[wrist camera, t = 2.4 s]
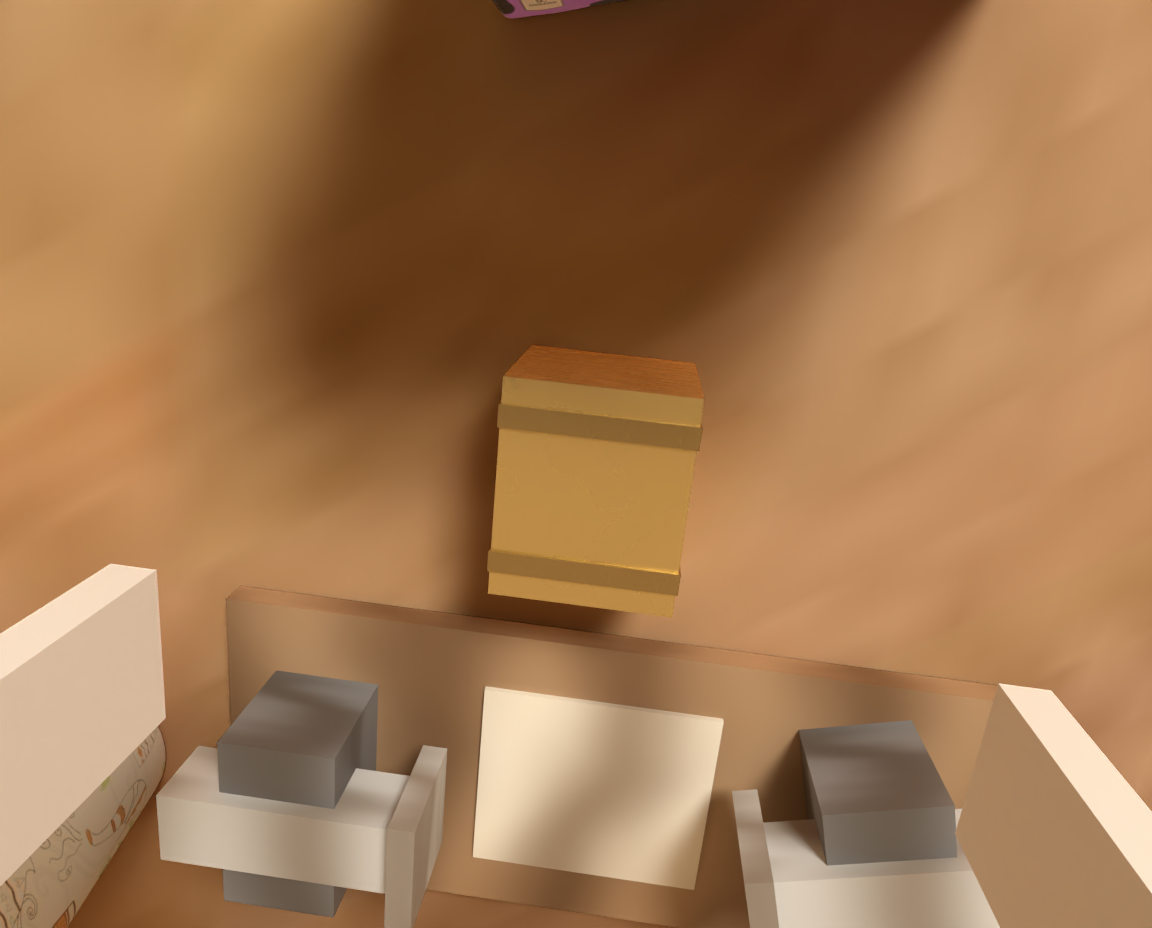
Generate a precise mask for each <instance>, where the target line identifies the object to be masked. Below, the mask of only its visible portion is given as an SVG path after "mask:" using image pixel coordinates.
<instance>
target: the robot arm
mask: <svg viewBox="0 0 1152 928" xmlns="http://www.w3.org/2000/svg"><path fill="white" fill-rule="evenodd" d="M165 718H166V714H165V698H164V681H163V665H162V649H161V633H160V617H159V601H158V585H157V570H154V569H146V568H139V567H132V566H124V565H117V564H109V565H108V566H106V567H105V568H103V569H102V570H100V571H98V572H97V573H95V574H94V575H92V576H91V577H89V578H87V579H86V580H84V581H83V582H81V583H80V584H78V585H76V586H75V587H73V588H72V589H70V590H68V591H67V592H65V593H64V594H62V595H61V596H59V597H57V598H56V599H54V600H53V601H51V602H50V603H48V604H46V605H45V606H43V607H42V608H40V609H38V610H37V611H35V612H34V613H32V614H31V615H29V616H27V617H26V618H24V619H23V620H21V621H20V622H18V623H16V624H15V625H13V626H12V627H10V628H9V629H7V630H5V631H4V632H2V633H1V634H0V886H1V885H2V884H3V883H4V882H5V881H6V880H7V879H8V878H9V877H10V876H11V875H12V874H13V873H14V872H15V871H16V870H17V869H18V868H19V867H20V866H21V865H22V864H23V863H24V862H25V861H26V860H27V859H28V858H29V857H30V856H31V855H32V854H33V853H34V852H35V850H36V849H37V848H38V847H39V846H40V845H41V844H42V843H43V842H44V841H45V840H46V839H47V838H48V837H49V836H50V835H51V834H52V833H53V832H54V831H55V830H56V829H57V828H58V827H59V826H60V825H61V824H62V823H63V822H64V821H65V820H66V819H67V818H68V817H69V816H70V815H71V814H72V813H73V812H74V811H75V810H76V809H77V808H78V807H79V806H80V805H81V804H82V803H83V802H84V801H85V800H86V799H87V798H88V797H89V796H90V795H91V794H92V792H93V791H94V790H95V789H96V788H97V787H98V786H99V785H100V784H101V783H102V782H103V781H104V780H105V779H106V778H107V777H108V776H109V775H110V774H111V773H112V772H113V771H114V770H115V769H116V768H117V767H118V766H119V765H120V764H121V763H122V762H123V761H124V760H125V759H126V758H127V757H128V756H129V755H130V754H131V753H132V752H133V751H134V750H135V749H136V748H137V747H138V746H139V745H140V744H141V743H142V742H143V741H144V740H145V739H146V738H147V737H148V735H149V734H150V733H151V732H152V731H153V730H154V729H155V728H156V727H157V726H158V725H159V724H160V723H161V722H162V721H163V720H164V719H165ZM955 835H956V837H957V839H958V841H959V843H960V845H961V847H962V849H963V851H964V853H965V856H966V858H967V860H968V862H969V864H970V866H971V868H972V870H973V872H974V874H975V876H976V878H977V880H978V883H979V885H980V887H981V889H982V891H983V893H984V895H985V897H986V899H987V901H988V903H989V905H990V907H991V910H992V912H993V914H994V916H995V918H996V920H997V922H998V924H999V926H1000V928H1152V811H1151V810H1150V809H1149V808H1148V807H1147V805H1146V804H1145V803H1144V802H1143V801H1142V799H1141V798H1140V797H1139V796H1138V795H1137V793H1136V792H1135V791H1134V790H1133V789H1132V787H1131V786H1130V785H1129V784H1128V783H1127V781H1126V780H1125V779H1124V778H1123V776H1122V775H1121V774H1120V773H1119V772H1118V770H1117V769H1116V768H1115V767H1114V766H1113V764H1112V763H1111V762H1110V761H1109V760H1108V758H1107V757H1106V756H1105V755H1104V754H1103V752H1102V751H1101V750H1100V749H1099V748H1098V746H1097V745H1096V744H1095V743H1094V742H1093V740H1092V739H1091V738H1090V737H1089V735H1088V734H1087V733H1086V732H1085V731H1084V729H1083V728H1082V727H1081V726H1080V725H1079V723H1078V722H1077V721H1076V720H1075V719H1074V717H1073V716H1072V715H1071V714H1070V713H1069V711H1068V710H1067V709H1066V708H1065V707H1064V705H1063V704H1062V703H1061V702H1060V701H1059V699H1058V698H1057V697H1056V696H1055V694H1054V693H1053V692H1052V691H1051V690H1044V689H1036V688H1029V687H1021V686H1014V685H1006V684H998V687H997V690H996V694H995V697H994V701H993V704H992V708H991V711H990V715H989V718H988V722H987V725H986V728H985V732H984V735H983V739H982V742H981V746H980V749H979V753H978V756H977V760H976V763H975V766H974V770H973V773H972V777H971V780H970V784H969V787H968V791H967V794H966V798H965V801H964V805H963V808H962V811H961V815H960V818H959V822H958V825H957V829H956V832H955Z"/></svg>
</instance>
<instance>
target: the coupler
mask: <svg viewBox="0 0 1152 928" xmlns="http://www.w3.org/2000/svg"><path fill="white" fill-rule="evenodd" d="M703 405H704V396H703V392H702V388H701V384H700V381H699V377H698V373H697V369H696V365H695V363H689V362H680V361H671V360H662V359H653V358H644V357H635V356H626V355H618V354H609V353H600V352H591V351H582V350H573V349H564V348H555V347H546V346H537V345H531V346H530V347H529V349H528V350H527V351H526V352H525V353H524V354H523V355H522V356H521V357H520V358H519V359H518V361H517V362H516V363H515V364H514V365H513V366H512V367H511V368H510V369H509V370H508V371H507V372H506V374H505V375H504V376H503V384H502V398H501V402H500V403H499V404H498V418H497V427H498V428H499V441H498V456H497V470H496V484H495V499H494V513H493V527H492V541H491V546H490V548H489V551H488V563H487V571H488V572H489V584H488V594H495V595H503V596H510V597H518V598H526V599H533V600H541V601H549V602H557V603H564V604H572V605H580V606H587V607H595V608H603V609H610V610H618V611H626V612H633V613H641V614H649V615H656V616H664V617H672V615H673V609H674V602H675V596H678V590H679V583H680V577H681V573H680V561H681V554H682V548H683V541H684V534H685V527H686V520H687V514H688V507H689V500H690V493H691V487H692V480H693V473H694V466H695V459H696V453H697V451H699V449H700V442H701V435H702V423H701V419H702V412H703Z"/></svg>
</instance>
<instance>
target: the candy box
mask: <svg viewBox="0 0 1152 928" xmlns="http://www.w3.org/2000/svg"><path fill="white" fill-rule="evenodd" d="M492 1H493V2H494V4H495V5H496V6H497V7H498V9H499V10H500V12H501V13H502V14H503V15H504V16H505V17H507V18H511V19H513V18H521V17H528V16H536V15H543V14H550V13H558V12H564V11H569V10H574V9H580V8H585V7H589V6H594V5H599V4H605V3H610V2H617V1H624V0H492Z"/></svg>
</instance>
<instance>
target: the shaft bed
mask: <svg viewBox="0 0 1152 928" xmlns="http://www.w3.org/2000/svg"><path fill="white" fill-rule="evenodd" d="M226 609H227V635H228V661H229V687H230V713H231V726H230V727H229V728H228V730H227V731H226V732H225V733H224V734H223V736H222V737H221V738H220V739H219V741H218V742H217V748H212V747H205V746H198V747H197V748H196V749H195V750H194V752H193V753H192V754H191V755H190V756H189V757H188V759H187V760H186V761H185V762H184V763H183V764H182V766H181V767H180V768H179V769H178V770H177V771H176V773H175V774H174V775H173V776H172V777H171V779H170V780H169V781H168V782H167V783H166V784H165V786H164V787H163V788H162V789H161V790H160V791H159V793H158V794H157V795H156V801H157V815H158V828H159V842H160V855H161V860H167V861H174V862H180V863H187V864H194V865H200V866H207V867H213V868H220V869H223V886H224V901H231V902H237V903H244V904H250V905H256V906H263V907H269V908H276V909H282V910H289V911H295V912H302V913H308V914H314V915H321V916H327V917H334V916H335V913H336V911H337V909H338V907H339V905H340V902H341V900H342V898H343V896H344V894H345V891H346V889H347V888H350V889H357V890H363V891H370V892H377V893H383V894H385V918H384V928H413V927H414V924H415V921H416V918H417V915H418V912H419V909H420V906H421V903H422V900H423V897H424V894H425V891H426V889H427V890H433V891H440V892H447V893H453V894H460V895H466V896H473V897H479V898H486V899H493V900H499V901H506V902H512V903H519V904H525V905H532V906H539V907H545V908H552V909H558V910H565V911H571V912H578V913H585V914H591V915H598V916H604V917H611V918H617V919H624V920H631V921H637V922H644V923H650V924H657V925H663V926H670V927H677V928H1000V926H999V924H998V922H997V920H996V918H995V916H994V914H993V912H992V910H991V907H990V905H989V903H988V901H987V899H986V897H985V895H984V893H983V891H982V889H981V887H980V885H979V883H978V880H977V878H976V876H975V874H974V872H973V870H972V868H971V866H970V864H969V862H968V860H967V858H966V856H965V853H964V851H963V849H962V847H961V845H960V843H959V841H958V839H957V837H956V835H955V832H956V829H957V825H958V822H959V818H960V815H961V811H962V808H963V805H964V801H965V798H966V794H967V791H968V787H969V784H970V780H971V777H972V773H973V770H974V766H975V763H976V760H977V756H978V753H979V749H980V746H981V742H982V739H983V735H984V732H985V728H986V725H987V722H988V718H989V715H990V711H991V708H992V704H993V701H994V697H995V694H996V690H997V687H998V686H996V685H989V684H981V683H974V682H966V681H959V680H951V679H943V678H936V677H928V676H921V675H913V674H905V673H898V672H890V671H883V670H875V669H867V668H860V667H852V666H845V665H837V664H830V663H822V662H814V661H807V660H799V659H792V658H784V657H776V656H769V655H761V654H754V653H746V652H738V651H731V650H723V649H716V648H708V647H701V646H693V645H685V644H678V643H670V642H663V641H655V640H647V639H640V638H632V637H625V636H617V635H609V634H602V633H594V632H587V631H579V630H572V629H564V628H556V627H549V626H541V625H534V624H526V623H518V622H511V621H503V620H496V619H488V618H480V617H473V616H465V615H458V614H450V613H443V612H435V611H427V610H420V609H412V608H405V607H397V606H389V605H382V604H374V603H367V602H359V601H352V600H344V599H336V598H329V597H321V596H314V595H306V594H298V593H291V592H283V591H276V590H268V589H260V588H253V587H245V586H240V587H239V588H238V589H236V590H235V591H234V592H233V593H232V594H231V595H230V596H229V597H228V598H227V599H226Z"/></svg>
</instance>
